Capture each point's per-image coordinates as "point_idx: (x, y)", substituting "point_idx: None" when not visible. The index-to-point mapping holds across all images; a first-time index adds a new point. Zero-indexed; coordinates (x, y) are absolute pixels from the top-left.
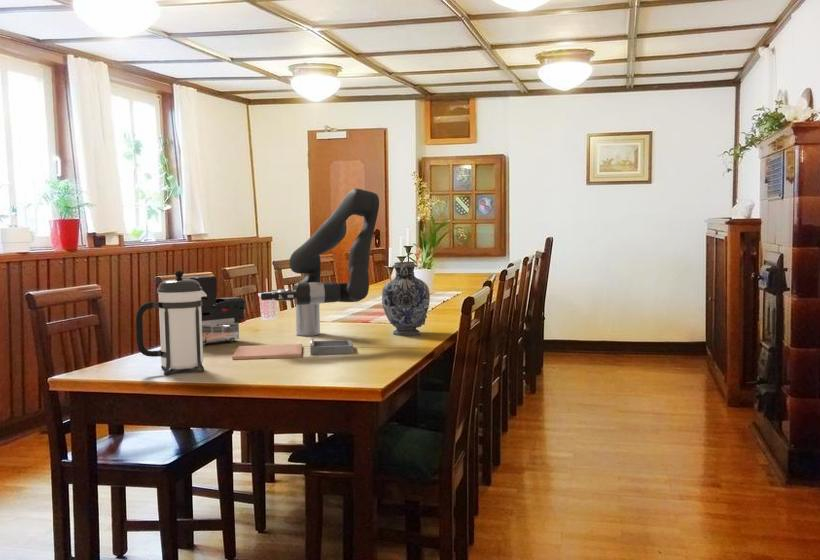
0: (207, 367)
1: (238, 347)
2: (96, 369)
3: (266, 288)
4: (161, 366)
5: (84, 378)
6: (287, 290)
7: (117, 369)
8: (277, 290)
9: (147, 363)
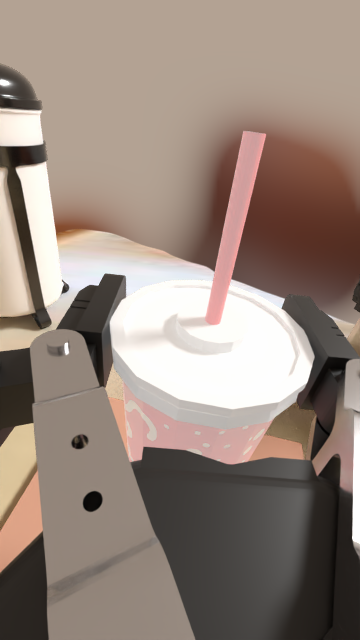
0: (17, 338)
1: (270, 438)
2: (132, 249)
3: (216, 274)
4: (63, 282)
5: (70, 238)
6: (51, 613)
7: (115, 260)
8: (345, 429)
9: (148, 284)
